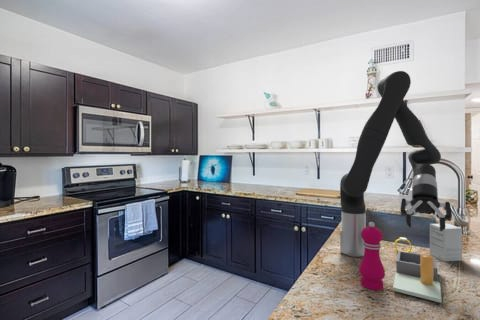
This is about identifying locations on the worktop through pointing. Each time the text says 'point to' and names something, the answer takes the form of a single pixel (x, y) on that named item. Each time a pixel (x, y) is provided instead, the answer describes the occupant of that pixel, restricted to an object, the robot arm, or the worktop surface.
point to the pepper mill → (371, 259)
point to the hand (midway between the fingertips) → (425, 227)
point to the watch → (403, 240)
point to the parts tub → (412, 264)
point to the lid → (420, 282)
